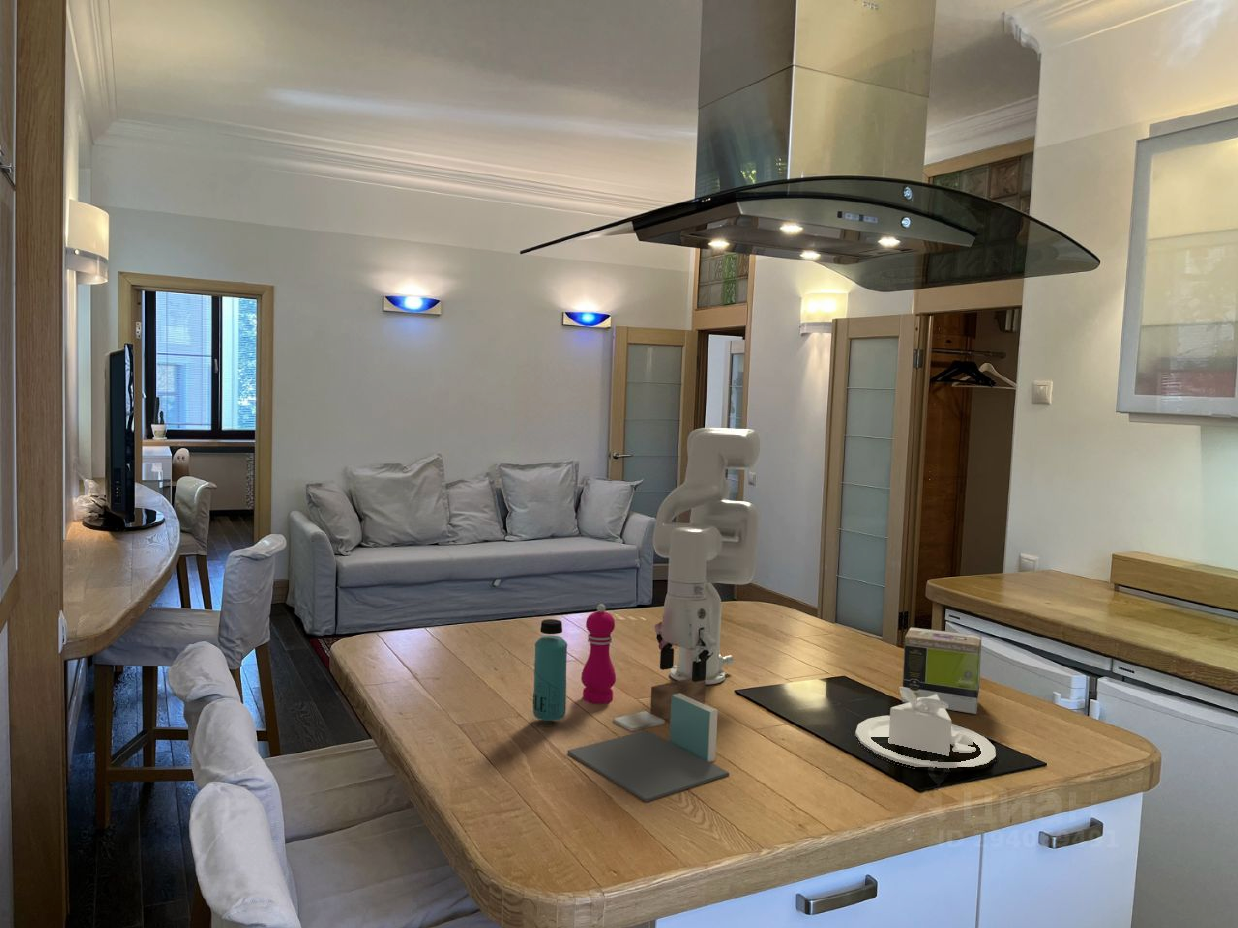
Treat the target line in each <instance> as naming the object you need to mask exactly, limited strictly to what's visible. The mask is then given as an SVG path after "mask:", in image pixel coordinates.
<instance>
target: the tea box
mask: <svg viewBox="0 0 1238 928" xmlns="http://www.w3.org/2000/svg"><path fill="white" fill-rule="evenodd" d="M981 651H982V636H981V635H977V634H969V633H961V632H955V631H954V632H953V631H946V630H937V629H927V628H919V627H912V626H911V627H910V628H909V629H908V631H907V633H906V635H905V637H904V653H903V670H902V674H903V675H902V687H905V688H908V689H910V690H911V691H913V692H914V694H915V696H916V700H917V698H920V697H929V696H932V695H935V694H937V695H938V697H939V699H940V700H941V701H944V702H946V703H947V704H948V708H945V710H949V711H954V712H955V711H957V712H961V713H967V714H972V715H976V714H977V711H978V710H977V709H978V701H979V693H980V677H981V654H982V652H981ZM901 700H902V701H901V702H902V703H904V704H905V703H908V702H909V701H907V700H906V699H904V698H903V697H902V696H901Z"/></svg>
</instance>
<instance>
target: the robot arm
mask: <svg viewBox="0 0 1238 928" xmlns="http://www.w3.org/2000/svg"><path fill="white" fill-rule="evenodd" d="M686 452H687V453H686V454H687V463H686V465H687V466H686V469H685V474H684V482H683V483H682V484H681V485H679V486H677V487H675V489H673V490H672V491H671V492H670V493H669V494H668V495H667V496H666V497H665V498H664V499H663V501H662V503H661V504H660V505H659V508H658V511H657V514H656V519H655V524H654V528H653V532H652V534H653V535H652V547H653V550H654V552H655V553H656V555H658V556H660V557H661V558H667V559H668V571H667V572H668V575H667V576H668V577H667V593H666V596H665V600H664V605H663V609H662V610H663V611H662V621H660V622H658V623H655V625H654V631H655V634H656V637H655V638H656V640H657V642H658V649H659V650H660V660H659V669H660V670H661V671H662V670H663V671H664V670H669V675H670V677H671V678H672V679H674V680H675V681H680V680H685V679H689V678H692V681H694V682H698V681H703V680H705V681H706V683H705V686H706V685H716V684H719V683H722V682H723V681H724V680H725V679H726V672H725V670H723V667H724V666H726V665H731V664H733V663H734V662H735V661H734V660H735V659H734V657H733V655H731V654H730V655H726V656H722V655H721V654H720V646H721V645H720V644H721V625H722V624H721V623H722V607H723V606H722V599H721V597H720V595H719V593H718V591H717V590H716V588H715V586H713V584H716V583H718V584H719V583H720V584H728V585H729V584H730V585H747V584H750V583H751V581H753V579H754V576H755V572H756V567H757V566H756V565H757V555H758V544H759V542H758V541H759V533H760V532H759V531H760V529H759V528H760V516H759V512H758V509H757V507H756V506H755V504H753V503H751V502H748V501H742V500H730V495H731V494H730V493H731V485H730V483H729V481H728V479H727V478H726V476H725V473H726V470H728V469H729V470H730V469H731V470H743V471H745V470H746V471H747V470H751V469H752V468H753V467H754V465H755V464H756V463H757V461H758V459H759V456H760V452H761V441H760V437H759V434H758V432H757V431H756V430H754V429H748V428H725V427H721V428H720V427H702V428H697V429H694V430H692V431H691V432H690V433H689V434H688V436H687V440H686ZM689 510H690V516H689V522H682V521H681V522H680V521H678V522H676V521H673V520H674V519H675V518H676V517H677V516H679V515H680V514H682V513H684V512H686V511H689ZM674 646H675V647H677V657H676V658H677V660H676V663H677V664H676V665H674V663H675V661H674V660H675V648H673V647H674Z"/></svg>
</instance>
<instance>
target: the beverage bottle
mask: <svg viewBox="0 0 1238 928" xmlns="http://www.w3.org/2000/svg"><path fill="white" fill-rule="evenodd" d="M562 623H563V622H562V621H561V620H559V619H555V618H554V619H553V618H549V619H548V618H547V619H543V620H541V623H540V624H541V625H540V633H542V634H546V635H543V636H540V637H539V638H538V639H537V640H536V641H535V642H534V663H533V693H532V713H533V717H534V718H535V719H537V720H539V721H546V722H548V721H549V722H551V721H553V722H554V721H559V720H562V719H564V717H565V716H566V711H567V708H566V707H567V681H568V679H567V653H568V652H567V651H568V649H567V648H568V643H567V641H566V640H565V639H564V638H563V637H562V636H558V634H562V632H563V627H562V626H563V625H562Z"/></svg>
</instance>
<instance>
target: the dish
mask: <svg viewBox="0 0 1238 928" xmlns="http://www.w3.org/2000/svg"><path fill="white" fill-rule="evenodd" d="M899 692H900V695H901V698H902V697H903V698H904V699H906V700H907V701H909V702H908V703H905V702H904V703H902V704H898V705H895V706H892V707H890V710H889V715H881V716H875V717H871V718H870V717H869V718H867V719H865V720H864V721H861V722H859V723H858V724H857V725H856V729H855V733H854V737H855V736H856V737H857V738H858V740H859V741H860V743H861V744H863V745H864V746H865V747H867V748H868V749H870V750H872V751H873V752H874V753H876V754H879V755H881V756H883V757H886V758H888V759H890V760H893V761H895V762H899V763H902V764H906V765H910V766H914V767H933V768H935V767H937V768H948V769H949V768H957V767H975V766H979V765H984V764H987V763H989V762H990V761H991V760H993V759H994V758H995V757H996V756H997V753H996V747H995V746H994V745H993V744H992V743H991V741H989V739H987V738H986V737H985V736H983V735H982V734H981V735H980V733H977V732H976V731H973V730H971V729H969V728H967V727H963V726H960V725H958V724H954V723H953V722H952V719H951V718H950V715H949V714H948V712H947V709H945V708H948V704H947V703H946V702H944V701H941V700H940V699H939V697H938V695H937V694H935V695H932V696H929V697H920V698H917V700H916V696H915V694H914V692H913V691H911V690H910V689H908V688H905V687H903V686H899ZM871 737H889V738H888V743H889V744H895V745H899V746H904V747H908V748H912V749H916V750H921V751H927V752H932V753H937V754H942V755H946V756H949V752H950V744H951V745H952V746H953V748H952V751H953V752H959V753H972V752H975V751H976V748H975V747H971V746H968V745H973V742H974V743H975V744H976V745H978V747H979V748H980V751H981V754H980V755H979V756H978V757H976V758H974V759H970V760H966V761H961V762H938V761H930V760H921V759H917V758H913V757H909V756H905V755H901V754H898V753H896V752H893V751H891V750H888V749H885V748H883V747H882V746H880V745H879V744H877V743H876V742H874V741H873V740H872V739H871ZM996 758H997V757H996Z"/></svg>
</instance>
